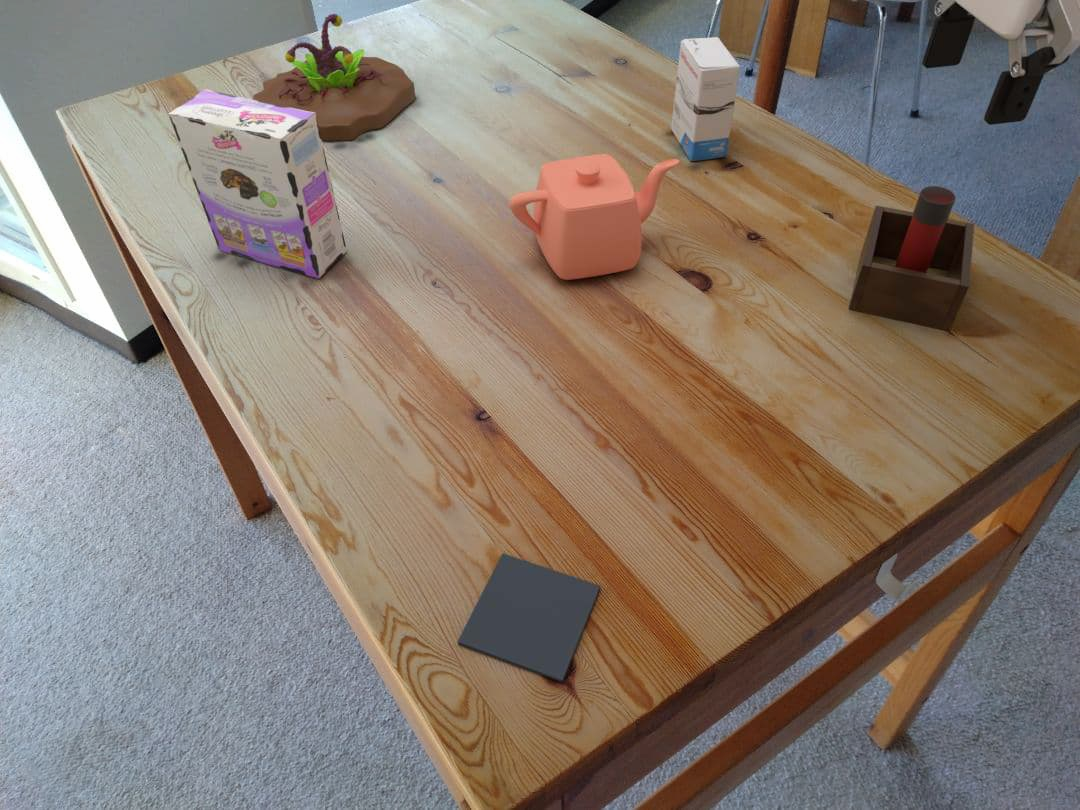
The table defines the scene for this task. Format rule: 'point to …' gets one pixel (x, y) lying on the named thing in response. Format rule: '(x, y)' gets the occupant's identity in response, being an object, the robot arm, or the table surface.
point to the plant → (340, 88)
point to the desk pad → (530, 617)
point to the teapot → (589, 214)
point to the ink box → (704, 98)
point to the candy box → (262, 180)
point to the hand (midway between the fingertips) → (970, 92)
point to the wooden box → (912, 273)
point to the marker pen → (925, 228)
